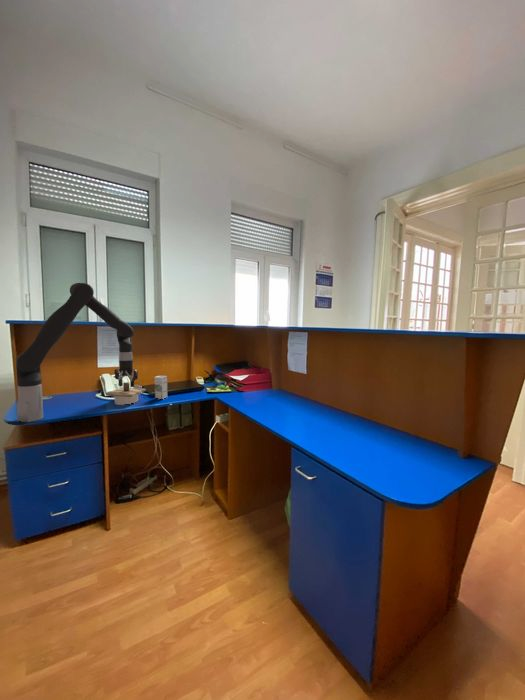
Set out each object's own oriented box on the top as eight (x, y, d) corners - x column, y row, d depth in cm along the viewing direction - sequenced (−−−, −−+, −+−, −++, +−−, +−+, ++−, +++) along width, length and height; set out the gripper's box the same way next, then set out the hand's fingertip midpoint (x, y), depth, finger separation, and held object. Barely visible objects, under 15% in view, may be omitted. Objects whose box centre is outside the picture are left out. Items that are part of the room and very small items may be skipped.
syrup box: (167, 397, 190) (167, 375, 188) (162, 400, 184) (162, 377, 183) (160, 396, 191) (159, 375, 190) (154, 399, 185) (154, 376, 184)
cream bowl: (130, 405, 171) (130, 396, 170) (110, 404, 173) (109, 394, 172) (142, 399, 183) (142, 391, 183) (123, 398, 185) (123, 389, 185)
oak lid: (131, 397, 169) (131, 386, 168) (105, 395, 171) (105, 385, 170) (145, 390, 184) (145, 380, 184) (122, 389, 186) (122, 379, 186)
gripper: (110, 359, 173) (111, 387, 174) (133, 360, 171) (133, 388, 172) (118, 358, 180) (119, 384, 182) (140, 359, 178) (141, 385, 180)
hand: (126, 386), depth 177 cm, fingers open, 6 cm apart
